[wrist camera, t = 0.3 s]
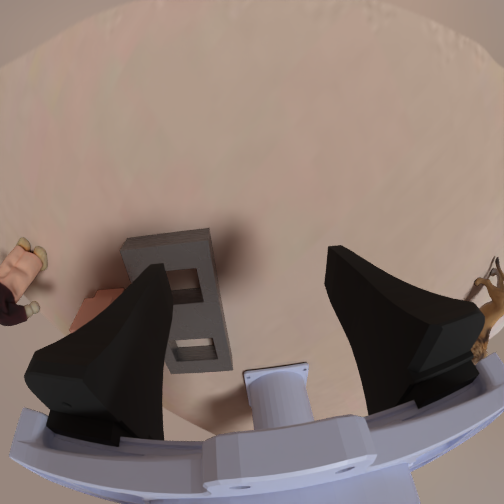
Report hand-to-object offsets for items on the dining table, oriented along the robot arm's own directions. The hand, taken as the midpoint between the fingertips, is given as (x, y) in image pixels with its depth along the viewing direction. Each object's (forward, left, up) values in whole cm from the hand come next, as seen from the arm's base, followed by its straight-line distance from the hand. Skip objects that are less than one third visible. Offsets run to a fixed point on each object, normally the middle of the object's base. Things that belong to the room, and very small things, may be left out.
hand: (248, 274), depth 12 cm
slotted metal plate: (-10, +6, -10) cm, 16 cm away
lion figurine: (-17, -33, -10) cm, 38 cm away
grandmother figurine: (-3, +21, -10) cm, 23 cm away
